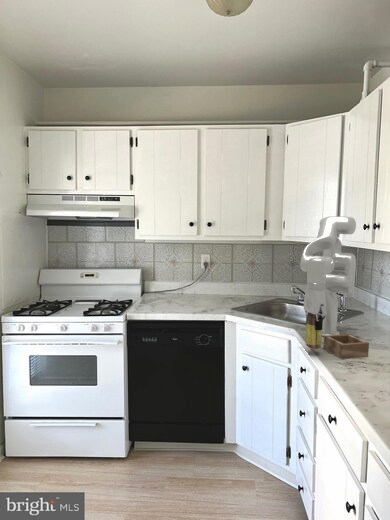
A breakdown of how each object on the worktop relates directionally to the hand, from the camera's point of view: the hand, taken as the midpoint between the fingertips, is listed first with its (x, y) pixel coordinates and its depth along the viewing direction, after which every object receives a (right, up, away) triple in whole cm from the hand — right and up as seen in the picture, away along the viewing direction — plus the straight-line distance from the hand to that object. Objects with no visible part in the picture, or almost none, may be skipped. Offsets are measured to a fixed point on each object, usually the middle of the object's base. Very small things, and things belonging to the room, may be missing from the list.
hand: (313, 327), depth 160 cm
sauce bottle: (0, -9, +1) cm, 9 cm away
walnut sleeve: (+15, -12, +3) cm, 19 cm away
